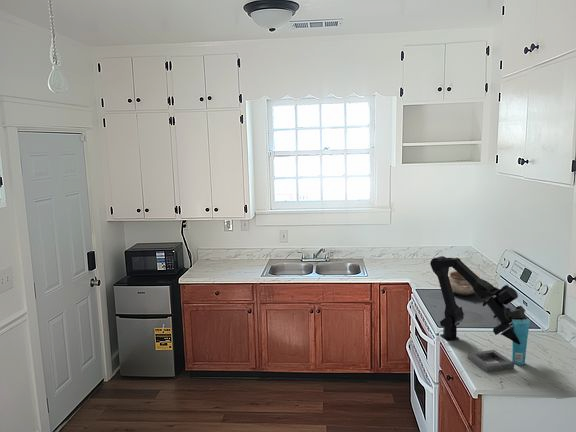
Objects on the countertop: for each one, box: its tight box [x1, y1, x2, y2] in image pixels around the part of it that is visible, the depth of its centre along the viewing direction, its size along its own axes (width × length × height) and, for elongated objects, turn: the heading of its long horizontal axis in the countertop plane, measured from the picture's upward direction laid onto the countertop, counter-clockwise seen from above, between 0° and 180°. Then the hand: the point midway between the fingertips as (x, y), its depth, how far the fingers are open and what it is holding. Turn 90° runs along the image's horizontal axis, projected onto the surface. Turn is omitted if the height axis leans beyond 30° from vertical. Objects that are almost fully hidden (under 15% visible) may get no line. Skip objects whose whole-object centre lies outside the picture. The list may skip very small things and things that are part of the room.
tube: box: [511, 318, 531, 366], centre depth 204 cm, size 7×5×19 cm, turn 96°
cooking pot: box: [448, 270, 480, 297], centre depth 293 cm, size 25×19×12 cm
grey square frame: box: [467, 349, 515, 373], centre depth 204 cm, size 13×13×2 cm
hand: (522, 342), depth 203 cm, fingers closed on tube, 5 cm apart
